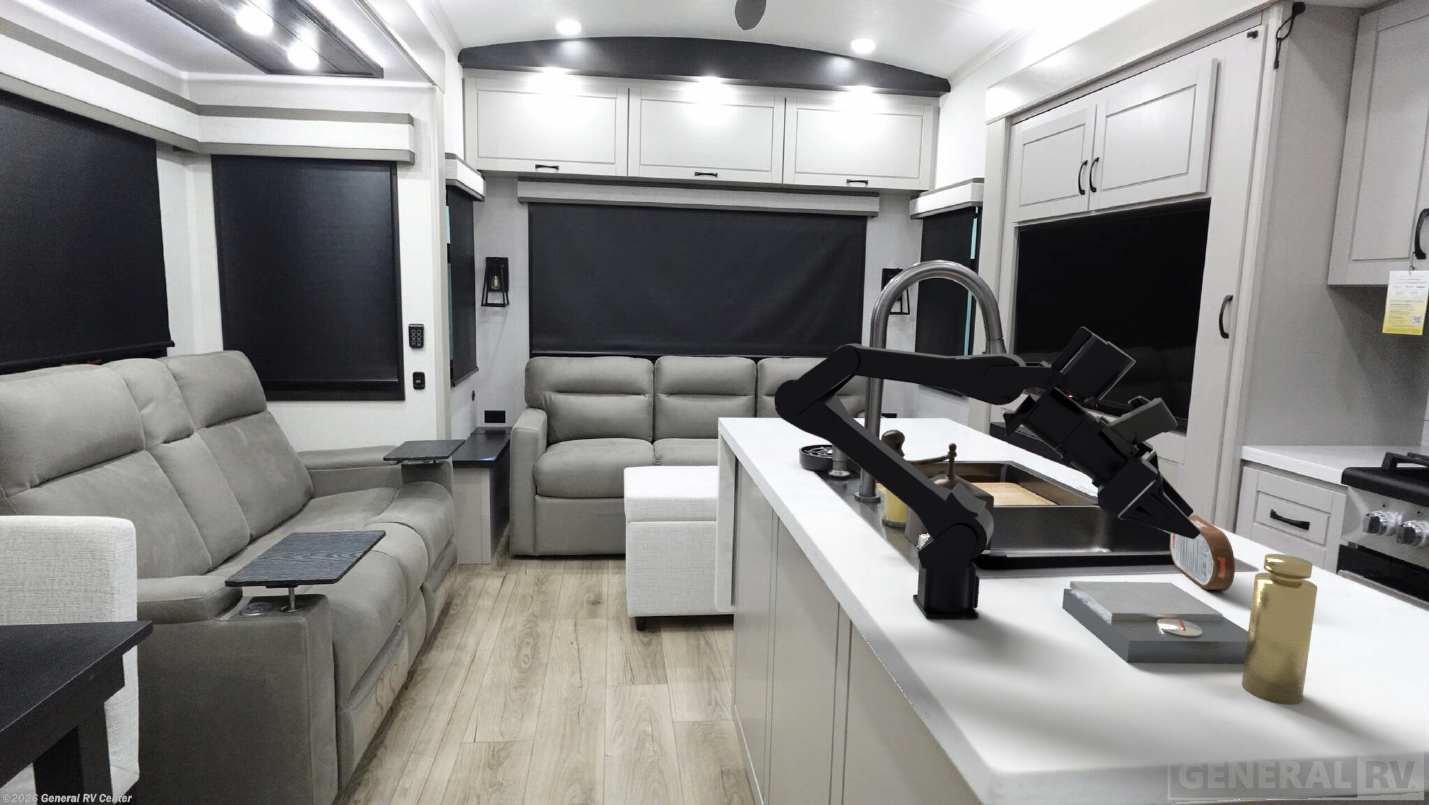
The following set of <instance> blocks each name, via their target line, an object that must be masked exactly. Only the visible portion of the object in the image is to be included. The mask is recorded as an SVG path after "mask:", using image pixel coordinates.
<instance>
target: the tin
mask: <svg viewBox="0 0 1429 805" xmlns="http://www.w3.org/2000/svg"><path fill="white" fill-rule="evenodd" d="M1188 518H1189V519H1190V520H1191V521H1192V523H1193V524H1194V525H1195V526H1196V527H1197V528H1198V529H1199V530H1200V534H1199V535H1198V536H1197V537H1196V538H1195V539H1190V538H1187V537H1184V536H1180V535H1177V534H1174V533H1171V532H1169V552H1170V555H1171V559H1172V562H1173V564H1174V565H1175V567H1176V568H1177V569H1178V571H1180V572H1181V573H1182V574H1184V575H1185V576H1186V577H1187V578H1189V579H1190V580H1191V581H1192V582H1193V583H1194V584H1196V585H1197V586H1198V587H1199V588H1201V589H1203V590H1207V591H1223V592H1224V591H1227V590H1229V589H1230V588H1231V587H1232V585H1233V582H1234V579H1235V574H1236V573H1235V571H1236V562H1235V555H1234V550H1233V548H1232V545H1231V544H1232V543H1231V542H1230V540H1229V538H1228V536H1227V535H1226V534H1225V532H1224V531H1223V530H1221V529H1219V528H1218V527H1216V526H1214V525H1213V524H1211V523H1209V522H1208V521H1207V520H1206V519H1204V518H1203V517H1201V516H1199V515H1198V514H1191V515H1190V516H1189V517H1188Z"/></svg>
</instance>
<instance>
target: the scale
mask: <svg viewBox="0 0 1429 805" xmlns="http://www.w3.org/2000/svg"><path fill="white" fill-rule="evenodd" d="M1062 609H1063V610H1065V611H1066V612H1067V613H1068V614H1069V615H1071V616H1072V617H1073V618H1074V619H1075V620H1076V621H1078V622H1079V623H1080V624H1082V625H1083V627H1085V628H1086V629H1087V630H1088V631H1089V632H1091V633H1092V634H1093V635H1094V636H1095V637H1096V638H1097V639H1099V640H1100V641H1101V642H1103V644H1104V645H1106V646H1107V647H1108V648H1109V649H1110V650H1112V651H1113V652H1114V653H1115V654H1116V655H1118V656H1119V657H1120V658H1121V659H1122V660H1124V661H1125V662H1126V663H1148V664H1149V663H1150V664H1151V663H1152V664H1153V663H1155V664H1157V663H1158V664H1161V663H1162V664H1163V663H1166V664H1179V663H1180V664H1243V665H1244V662H1245V654H1246V646H1247V638H1248V630H1246V629H1245V628H1244V627H1241V626H1240V625H1239V624H1236V623H1235V622H1233V621H1232V620H1231V619H1228V618H1226V617H1225V616H1224V614H1223V613H1222V612H1220V611H1218V610H1217V609H1215V608H1213V607H1212V606H1210V605H1209V604H1207V603H1206V602H1204V601H1202V600H1200V599H1199V598H1197V597H1195V596H1193V595H1192V594H1190V593H1189V592H1187V591H1185V590H1184V589H1182V588H1180V587H1179V586H1177V585H1175V584H1174V583H1173V582H1165V581H1164V582H1161V581H1160V582H1159V581H1158V582H1155V581H1154V582H1153V581H1150V582H1149V581H1142V582H1141V581H1084V580H1083V581H1079V580H1078V581H1076V580H1074V581H1070V583H1069V588H1063V595H1062Z"/></svg>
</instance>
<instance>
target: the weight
mask: <svg viewBox="0 0 1429 805" xmlns="http://www.w3.org/2000/svg"><path fill="white" fill-rule="evenodd" d="M1263 569H1264V570H1265V571H1266V572H1259V573H1256V574H1254V583H1253V590H1252V599H1251V608H1250V614H1249V622H1248V630H1247V631H1248V638H1247V646H1246V654H1245V662H1244V664H1243V672H1242V679H1241V687H1242V688H1243V689H1244V690H1245V691H1246V692H1248V693H1249V694H1251V695H1253V696H1255V697H1257V698H1260V699H1263V700H1265V701H1268V702H1272V703H1277V704H1283V705H1298V704H1300V703H1302V701H1303V696H1304V689H1305V683H1306V675H1307V668H1308V659H1309V654H1310V653H1309V652H1310V645H1311V638H1312V630H1313V624H1314V616H1315V608H1316V601H1317V594H1318V586H1317V584H1315V583H1313V582H1312V581H1310V580H1307V579H1310V578H1311V577H1312V571H1313V562H1311V561H1309V560H1307V559H1304V558H1300V557H1297V556H1293V555H1287V554H1283V553H1282V554H1281V553H1267V554H1265V555H1264V561H1263Z"/></svg>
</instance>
